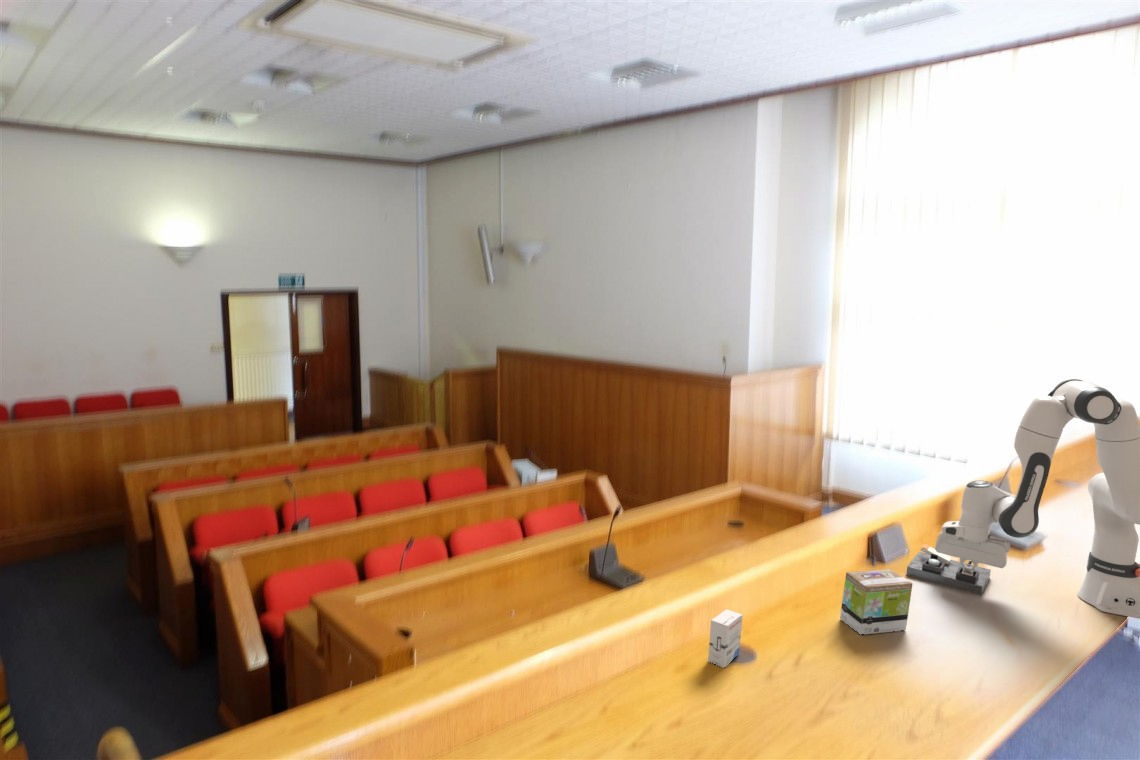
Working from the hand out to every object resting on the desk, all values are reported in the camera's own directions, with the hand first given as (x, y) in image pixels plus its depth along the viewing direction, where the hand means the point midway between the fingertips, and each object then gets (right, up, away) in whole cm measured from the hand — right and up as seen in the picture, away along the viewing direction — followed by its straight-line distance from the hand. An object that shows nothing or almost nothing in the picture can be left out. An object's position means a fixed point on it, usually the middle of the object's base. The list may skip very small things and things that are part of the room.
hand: (967, 572), depth 242 cm
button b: (-8, +1, +6) cm, 10 cm away
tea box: (-41, -9, -26) cm, 49 cm away
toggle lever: (+4, +1, +7) cm, 8 cm away
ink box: (-87, -11, -46) cm, 99 cm away
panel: (-3, -3, +8) cm, 9 cm away
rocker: (-4, +2, +13) cm, 14 cm away
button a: (0, -1, 0) cm, 1 cm away
